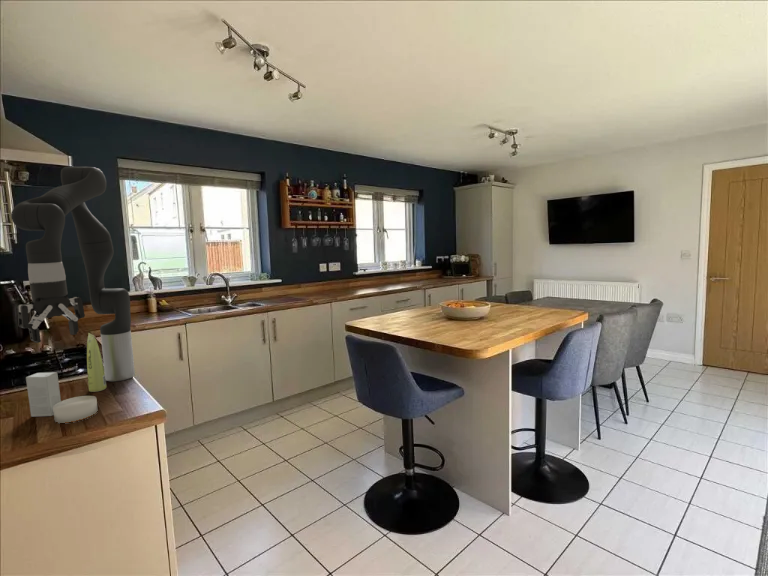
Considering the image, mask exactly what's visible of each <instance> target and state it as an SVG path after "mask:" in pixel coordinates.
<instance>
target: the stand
mask: <svg viewBox="0 0 768 576" xmlns="http://www.w3.org/2000/svg"><path fill="white" fill-rule="evenodd" d="M97 411H98V412H99V409H98V401H97V396H94V395H81V396H74V397H70V398H67V399H63V400H61V402H59V403H57V404H55V405H54V406H53V412H54V415H53V419H54V423H56V422H58V423H57V424H60V423H65V422H71V421H76V420H79V419H83V418H86V417H88V416H91V415H93V414H95V413H96V412H97ZM98 412H97V413H98ZM97 413H96V414H97ZM96 414H95V415H96ZM65 424H66V423H65Z"/></svg>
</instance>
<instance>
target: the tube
mask: <svg viewBox="0 0 768 576" xmlns="http://www.w3.org/2000/svg"><path fill="white" fill-rule="evenodd" d="M87 334H88V336H87V341H86V368H87V369H86V371H87V383H88V391H89V392H90V393H92V392H93V393H98V392H101V391H104V390H105V389H107V387H108V386H107V381H106V379H105V371H104V361H103V359H102V358H103V357H102V355H101V350H100V347H99V344H98V341H97V339H96V338H95V335H94V334H92V333H90V332H88V333H87Z"/></svg>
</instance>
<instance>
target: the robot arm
mask: <svg viewBox="0 0 768 576" xmlns="http://www.w3.org/2000/svg"><path fill="white" fill-rule="evenodd" d="M60 181H61V185H60V186H56V187H54V188H52V189H50V190H48V191H46V192H45V193H44V194H42V195H41V196H38V197H33V198H30V199H27V200H24V201H20V202H19V203H17V204H16V205H15V206H14V207H13V209H12V211H11V213H10V215H11V216H10V217H11V221H12V223H13V225H15V226H16V227H17V228H19V229H20V230H22V231H29V232H33V231H34V232H35V231H39V232H41V231H42V232H43V231H44V234H43V236H42V237H41V238H40V239H39V238H38V239H34V240H30V241H27V242H26V244H25V252H26V259H27V260H26V261H27V274H28V275H27V276H28V282H29V287H30V298H31V300H32V301H31V303H30V304H18V305H17V306H16V309H17V310H16V311H17V322H18V323H17V324H18V327H19V328H21V329H28V333H29V339H30V340H31V342H33V343H36V344H39V343H41V342H42V341H41V340H42V339H41V335H40V328H38V327H40V325H41V323H42V322H43V321H44V320H45V319H47V318H48V319H50V318H53V317H62V316H63V317H65V318H66V319H67V320H68V322H67V323H68V329H69V334H70V335H73V336H75V335H77V334H78V333H79V330H80V329H79V320H81V319H83V318H85V316H86V314H85V310H84V309H85V308H84V304H83V300H82V299H83V298H82V297H80V296H78V297H77V296H73V297H72V298H69V295H68V286H67V279H66V278H67V275H66V271H65V267H64V263H63V257H62V250H61V247H62V246H61V245H62V238H63V232H64V229H65V225H66V216H67V215H68V214H69V213H71V216H72V219H73V223H74V227H75V231H76V237H77V241H78V245H79V249H80V253H81V256H82V260H83V263H84V268H85V273H86V277H87V284H88V285H87V286H88V291H89V292H88V293H89V299H90V304H91V305H90V306H91V308H92V309H93V311H94V312H95V314H97V315H114V319H113V320H112V321H110V322H107V323H103V324H102V325H101V326H100V327H99V332H100V340H101V341H100V342H101V349H102V351H101V352H102V358H103V359H102V362H103V367H104V373H105V379H106V382H121V381H125V380H129V379H131V378H133V377H135V375H136V373H135V371H136V370H135V362H134V361H135V359H134V349H133V340H132V330H131V324H132V317H131V316H132V315H131V297H130V294H129V291H128V290H127V289H125V288H119V287H118V288H106V287H105V281H104V280H105V274H106V271H107V269H108V267H109V265H110V264H111V261H112V259H113V257H114V253H115V252H114V245H113V241H112V237H111V234H110V231H108V229H107V227H105V226H104V224H103V223H101V222H100V221H99V220H98V218H96V216H94V214H92V212H91V211H90V210H89V208H88V206H87V204H86V202H87V201H90V200H92V199H94V198H96V197H99V196H101V195H103V194H104V193H105V191H106V190H107V179H106V176H105V174H104V172H103V171H102V170H101V169H100V168H97V167H95V166H65V167H62V168H61V170H60ZM70 305H72V306H73V310H74V313H73V312H72V311H71V310H69V308H68V307H69V306H70ZM31 310H33V311H34V312H35V313H33V315H32V316H31V319H30V321H29V313H31Z"/></svg>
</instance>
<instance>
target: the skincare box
mask: <svg viewBox="0 0 768 576" xmlns="http://www.w3.org/2000/svg"><path fill="white" fill-rule="evenodd" d="M25 381H26V389H27V395H28V403H29V411H30V412H29V413H30V417H31V418H32V417H34V418H35V417H36V418H37V417H52V416H53V417H54V412H53V406H54V405H55V404H57V403H59V402H61V401H62V400H61V399H62V398H61V392H60V382H59V377H58V372H57V371H56V372H53V371H52V372H36V373H33V374H31V375H28V376H26V377H25Z"/></svg>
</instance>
